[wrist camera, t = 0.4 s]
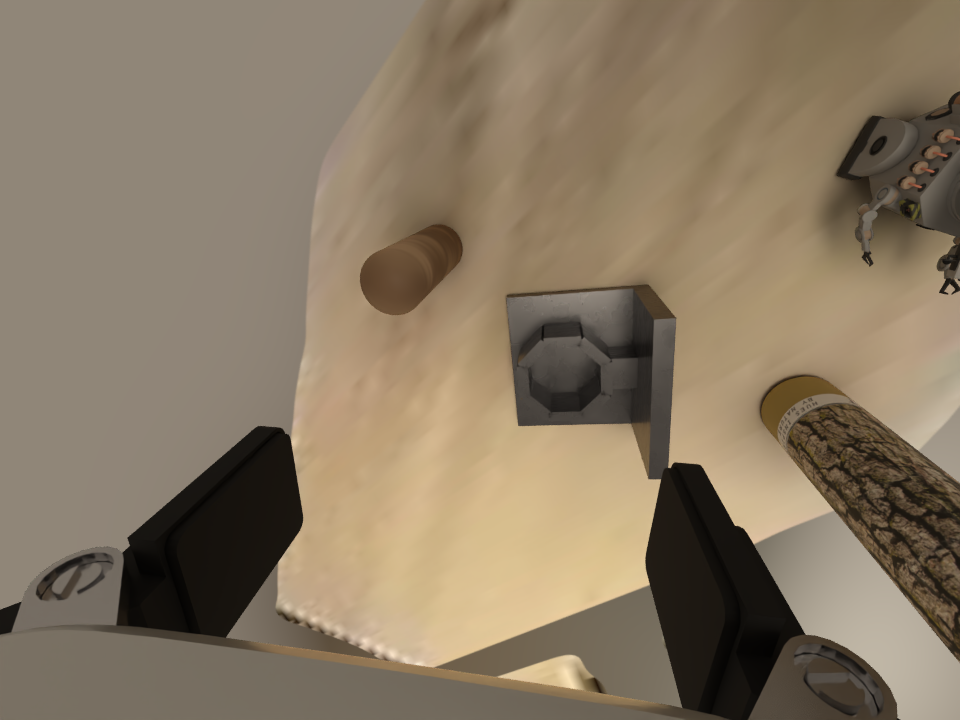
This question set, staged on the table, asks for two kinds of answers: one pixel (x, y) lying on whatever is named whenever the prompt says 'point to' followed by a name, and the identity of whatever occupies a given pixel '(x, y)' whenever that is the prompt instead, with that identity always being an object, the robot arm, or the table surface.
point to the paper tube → (878, 493)
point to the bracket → (596, 362)
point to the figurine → (912, 176)
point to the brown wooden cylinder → (410, 269)
